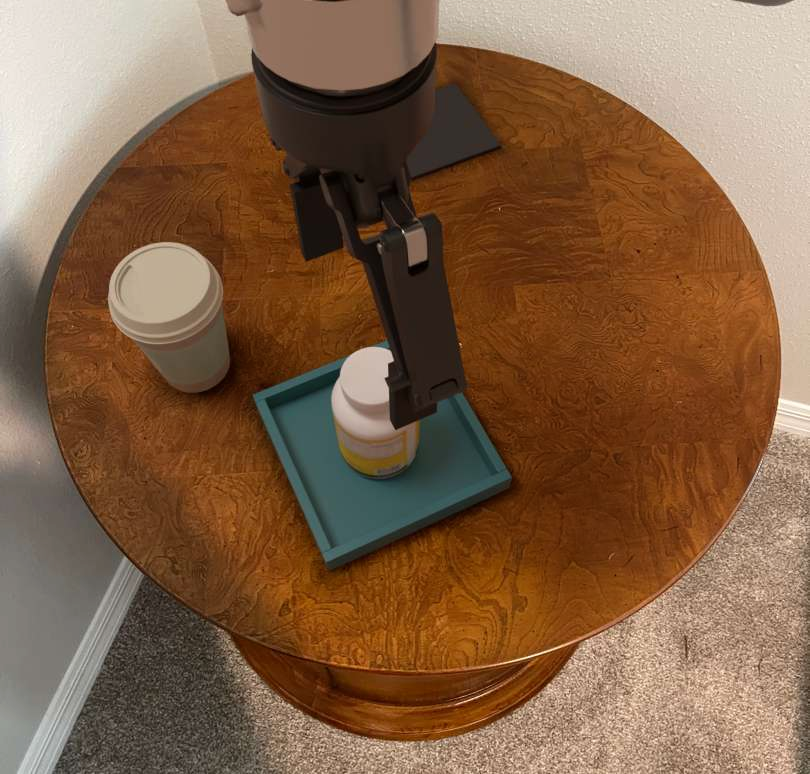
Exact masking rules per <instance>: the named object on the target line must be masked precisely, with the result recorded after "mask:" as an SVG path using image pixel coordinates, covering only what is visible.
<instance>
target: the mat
mask: <svg viewBox="0 0 810 774" xmlns="http://www.w3.org/2000/svg"><path fill="white" fill-rule="evenodd" d="M500 148H501V143H500V141H498V139H497V138H496V137H495V135H494V134H493V132H492V131H491V130H490V128H489V127H488V126H487V124H486V123H485V121H484V120H483V119H482V117H481V116H480V115H479V113H478V112H477V111H476V109H475V108H474V107H473V105H472V104H471V102H470V101H469V99H468V98H467V97H466V96H465V94H464V93H463V92H462V90H461V89H460V87H459V86H458V84H457V83H453V84H450V85H447V86H445V87H441V88H438V89H435V107H434V114H433V118H432V121H431V124H430V126H429V128H428V130H427V132H426V133H425V135H424V136H423V138H422V139H421V140H420V141H419V143H418V144H417V145H416V146H415V148H414V149H413V150H412V152H411V153H410V155H409V156H408V157H407V159H406V162H407V166H408V169H409V173H410V176H411V181H413V180H416V179H418V178H421V177H425V176H427V175H429V174H433V173H435V172H438V171H440V170H444V169H446V168H449V167H452V166H454V165H457V164H460V163H463V162H465V161H468V160H471V159H473V158H476V157H479V156H481V155H484V154H488V153H490V152H493V151H496V150H498V149H500Z"/></svg>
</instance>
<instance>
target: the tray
mask: <svg viewBox="0 0 810 774" xmlns="http://www.w3.org/2000/svg"><path fill="white" fill-rule="evenodd" d="M371 347H380V348H385V349H388V350H390V347H389V344H388V341H387V340H383V341H381V342H380V343H377V344H374V345H371ZM390 351H391V350H390ZM350 355H351V354H349V355H347V356H345V357H342V358H340V359H337V360H335V361H333V362H330V363H327V364H325V365H323V366H320V367H318V368H315V369H313V370H309V371H308V372H305V373H303V374H300V375H298V376H295V377H293V378H290V379H288V380H285V381H283V382H280V383H278V384H275V385H273V386H270V387H267V388H266V389H262V390H261V391H258V392H256V393H253V394H252V399H253V401H254V404H255V407H256V410H257V412H258V414H259V416H260V419H261V421H262V424H263V426H264V428H265V430H266V432H267V435H268V437H269V439H270V440H271V444H272V447H273V448H274V451H275V453H276V455H277V457H278V459H279V462H280V465H281V467H282V469H283V471H284V473H285V476H286V478H287V480H288V482H289V485H290V487H291V489H292V492H293V495H294V496H295V498H296V500H297V503H298V505H299V508H300V509H301V510H300V511H301V512H302V514H303V517H304V519H305V521H306V523H307V526H308V528H309V530H310V532H311V534H312V538H313V540H314V541H315V543H316V546H317V548H318V550H319V553H320V555H321V558H322V560H323V562H324V564H325V566H326V567H325V568H326V569H327V571H328V572H331V571H332V570H334V569H337V568H339V567H341V566H344V565H346V564H348V563H350V562H352V561H354V560H356V559H358V558H361V557H363V556H365V555H367V554H369V553H372V552H374V551H376V550H378V549H381V548H382V547H385V546H386V545H389V544H392V543H393V542H395V541H398V540H400V539H402V538H404V537H407V536H408V535H411V534H413V533H415V532H417V531H419V530H421V529H423V528H427V527H428V526H430V525H433V524H435V523H436V522H439V521H441V520H443V519H445V518H448V517H450V516H452V515H454V514H456V513H458V512H460V511H461V512H462V510H465V509H468V508H470V507H472V506H473V505H476V504H478V503H480V502H482V501H485V500H487V499H490V498H491V497H493V496H495V495H498V494H500V493H502V492H504V491H506V490H508V489H510V486H511V482H512V475H511V473H510V471H509V470H508V468H507V467H506V465H505V463H504V461H503V460H502V458H501V456H500V455H499V453H498V452H497V450H496V448H495V446H494V444H493V442H492V441H491V439H490V437H489V436H488V434H487V432H486V431H485V429H484V427H483V426H482V424H481V422H480V420H479V418H478V417H477V415H476V414H475V412H474V410H473V409H472V406H471V405H470V403H469V401H468V399H467V398H466V396H465V394H464V393H463V392H461V393H458V394H456V395H454V396H451V397H449V398H447V399H444V400H442V401H440V402H437V413H434V414H432V415H430V416H427V417H425V418H423V419H421V420H420V425H419V446H418V451H417V454H416V456H415V458H414V460H413V461H412V463H411V464H410V465H409V466H408V467H407V468H406V469H405V470H403V471H402V472H401V473H399V474H397V475H394V476H392V477H388V478H382V479H375V478H368V477H365V476H362V475H360V474H358V473H357V472H355V471H354V470H352V469H351V468H350V467H349V466H348V465H347V463H346V462H345V460H344V458H343V457H342V454H341V451H340V447H339V442H338V437H337V432H336V427H335V421H334V416H333V411H332V403H331V397H332V391H333V388H334V385H335V383H336V381H337V380H338V378H339V377H340V372H341V368H342V366H343V364H344V362H345V361H346V359H347V358H348V357H349V356H350Z"/></svg>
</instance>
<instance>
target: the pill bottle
mask: <svg viewBox="0 0 810 774" xmlns="http://www.w3.org/2000/svg"><path fill="white" fill-rule="evenodd" d="M349 355H350V356H349ZM349 355H348V356H349V357H348V358H347V359H346V361H345V362H344V364H343V366H342V368H341V372H340V377H339V378H338V380H337V381H336V383H335V385H334V388H333V391H332V397H331V403H332V411H333V416H334V421H335V427H336V432H337V437H338V442H339V447H340V451H341V454H342V457H343V458H344V460H345V462H346V463H347V465H348V466H349V467H350V468H351V469H352V470H354V471H355V472H357V473H358V474H360V475H362V476H365V477H368V478H375V479H382V478H388V477H392V476H394V475H397V474H399V473H401V472H402V471H403V470H405V469H406V468H407V467H408V466H409V465H410V464H411V463H412V461H413V460H414V458H415V456H416V454H417V451H418V446H419V425H420V420H418V421H416V422H414V423H411V424H409V425H407V426H404V427H402V428H400V429H397V430H395V429H394V427H393V425H392V423H391V421H390V411H389V388H388V386H387V384H386V381H385V379H384V378H386V377H388V363H391V362H393V361H394V360H393V357H392V354H391V351H390V350H388V349H385V348H380V347H372V346H367V347H363V348H361V349H358V350H356V351H354V352H353V353H352V354H349Z"/></svg>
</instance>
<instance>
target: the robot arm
mask: <svg viewBox="0 0 810 774" xmlns="http://www.w3.org/2000/svg"><path fill="white" fill-rule="evenodd" d="M732 1H733V2H739V3H745V4H751V5H757V6H762V7H778V6H783V5H786V4H788V3H791V2H794V0H732ZM225 2H226V7H227V11H228V12H229V13H231V14H232V15H234V16H236V17H241V16H243V17H244V22H245V27H246V31H247V36H248V37H247V38H248V42H249V45H250V46H251V53H250V57H251V65H252V71H253V77H254V81H255V86H256V90H257V91H256V92H257V96H258V97H257V98H258V101H259V102H258V103H259V106H260V111H261V112H260V113H261V117H262V121H263V123H264V126H265V129H266V130H267V133H268V134H269V136H270V137H269V141H270V144H271V146H272V147H274V149H275V150H276V152H279V151H283V152H285V153H286V156H285V157H284V158H283V159H282V165H283V166H282V169H283V172H284V174H285V175H286V176H287V177H288V179H289V180H292V179H293V181H294V183H291V184H289V189H290V195H291V201H292V206H293V212H294V217H295V224H296V231H297V235H298V242H299V246H300V253H301V255H302V257H303V259H304V261H305V262H306V263H308V262H310V261H312V260H315V259H318V258H322V257H324V256H326V255H328V254H331V253H334V252H336V251H339V250H342V249H344V248H345V246H346V250H347V252H348V254H349V256H350V257H352V258H353V259H355V260H357V261H359V262H361V263H362V267H363V269H364V272H365V276H366V279H367V281H368V285H369V289H370V291H371V294H372V298H373V301H374V303H375V306H376V309H377V313H378V316H379V319H380V322H381V325H382V328H383V331H384V334H385V338H386V341H388V344H389V347H390V350H391V354H392V357H393V360H394V361H393V362H391V363H388V377H386V378H384V379H385V381H386V384H387V386H388V388H389V411H390V421H391V423H392V425H393V427H394V429H395V430H397V429H400V428H402V427H404V426H407V425H409V424H411V423H414V422H416V421H418V420H421V419H423V418H425V417H427V416H430V415H432V414H434V413H437V402H440V401H442V400H444V399H447V398H449V397H451V396H454V395H456V394H458V393H461V392H462V393H463V392H465V391H467V388H468V385H467V379H466V374H465V369H464V363H463V359H462V353H461V348H460V342H459V338H458V337H459V336H458V333H457V327H456V321H455V315H454V311H453V305H452V301H451V295H450V290H449V285H448V280H447V274H446V270H445V264H444V232H443V224H442V222H441V220H440V219H439V217H438V216H437V214H436V213H435V212H429V213H426V214H424V215H421V216H417V213H416V209H415V205H414V201H413V198H412V196H411V192H410V185H411V181H412V179H411V176H410V173H409V169H408V166H407V162H406V159H407V157H408V156H409V155H410V153H411V152H412V150H413V149H414V148H415V146H416V145H417V144H418V143H419V141H420V140H421V139H422V138H423V136H424V135H425V133H426V132H427V130H428V128H429V126H430V124H431V121H432V118H433V114H434V107H435V90H436V85H437V84H436V83H437V82H436V81H437V60H438V59H437V58H438V49H437V47H438V46H437V39H438V38H439V20H440V19H439V17H440V0H225ZM381 222H384V225H385V227H386V229H383V230H380V232H379V233H378V234H375V235H372V236H370V237H368V238H364V239H361V235H360V233H359V229H365V228H368V227H371V226H374V225H376V224H379V223H381ZM344 244H345V246H344Z"/></svg>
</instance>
